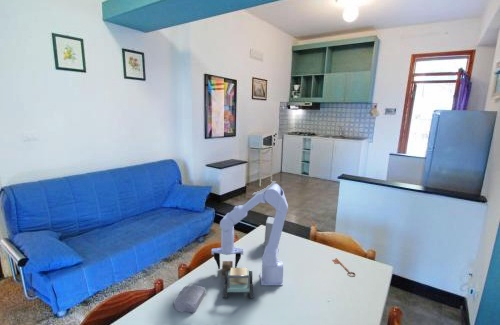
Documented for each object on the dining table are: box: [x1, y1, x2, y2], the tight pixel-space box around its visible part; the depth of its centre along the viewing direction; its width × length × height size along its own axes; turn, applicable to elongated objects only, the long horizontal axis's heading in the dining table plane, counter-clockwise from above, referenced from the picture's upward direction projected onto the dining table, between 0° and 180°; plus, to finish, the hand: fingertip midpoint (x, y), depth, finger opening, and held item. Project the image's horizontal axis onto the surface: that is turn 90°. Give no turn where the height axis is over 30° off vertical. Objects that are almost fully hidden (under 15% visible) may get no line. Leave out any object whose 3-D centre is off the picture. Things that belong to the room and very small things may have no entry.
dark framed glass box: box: [222, 267, 254, 299], centre depth 109 cm, size 12×14×10 cm
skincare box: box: [263, 216, 275, 249], centre depth 145 cm, size 8×7×16 cm
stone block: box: [173, 284, 206, 314], centre depth 103 cm, size 12×5×10 cm
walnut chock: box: [221, 260, 234, 278], centre depth 121 cm, size 4×7×6 cm, turn 2°
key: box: [331, 258, 356, 278], centre depth 127 cm, size 6×1×15 cm
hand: (227, 267), depth 120 cm, fingers open, 7 cm apart
